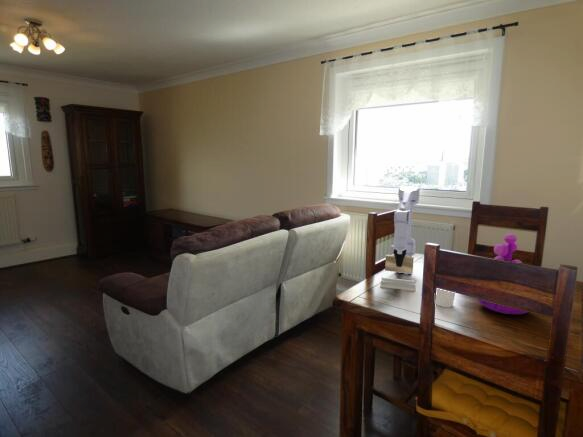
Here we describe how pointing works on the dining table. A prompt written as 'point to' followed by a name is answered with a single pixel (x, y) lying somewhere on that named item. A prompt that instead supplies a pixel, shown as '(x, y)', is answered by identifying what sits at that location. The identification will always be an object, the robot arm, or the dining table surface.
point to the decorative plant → (502, 251)
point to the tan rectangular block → (406, 267)
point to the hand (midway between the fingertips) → (399, 265)
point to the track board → (398, 284)
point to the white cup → (444, 298)
